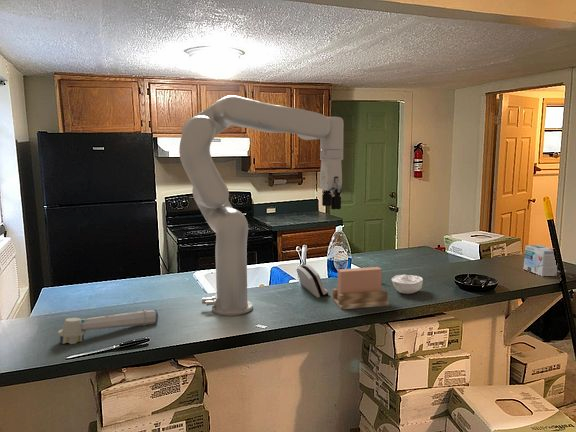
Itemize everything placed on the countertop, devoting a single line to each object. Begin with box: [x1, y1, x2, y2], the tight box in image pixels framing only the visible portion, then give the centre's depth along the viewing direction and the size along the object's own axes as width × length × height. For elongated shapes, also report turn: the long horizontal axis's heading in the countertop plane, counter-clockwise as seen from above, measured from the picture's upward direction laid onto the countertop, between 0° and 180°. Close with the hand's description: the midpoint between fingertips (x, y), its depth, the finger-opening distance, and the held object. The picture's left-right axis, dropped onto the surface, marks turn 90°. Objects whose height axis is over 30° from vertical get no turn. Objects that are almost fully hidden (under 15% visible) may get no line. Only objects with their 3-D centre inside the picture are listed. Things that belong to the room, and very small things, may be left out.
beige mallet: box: [57, 309, 159, 345], centre depth 118 cm, size 5×7×25 cm
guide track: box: [330, 287, 390, 310], centre depth 141 cm, size 16×10×4 cm, turn 102°
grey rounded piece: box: [296, 264, 331, 298], centre depth 154 cm, size 17×5×10 cm, turn 17°
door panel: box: [337, 266, 383, 300], centre depth 140 cm, size 14×3×10 cm, turn 103°
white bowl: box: [391, 274, 424, 295], centre depth 151 cm, size 10×12×7 cm
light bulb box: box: [523, 244, 558, 276], centre depth 173 cm, size 11×7×11 cm, turn 10°
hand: (331, 207), depth 144 cm, fingers open, 9 cm apart
